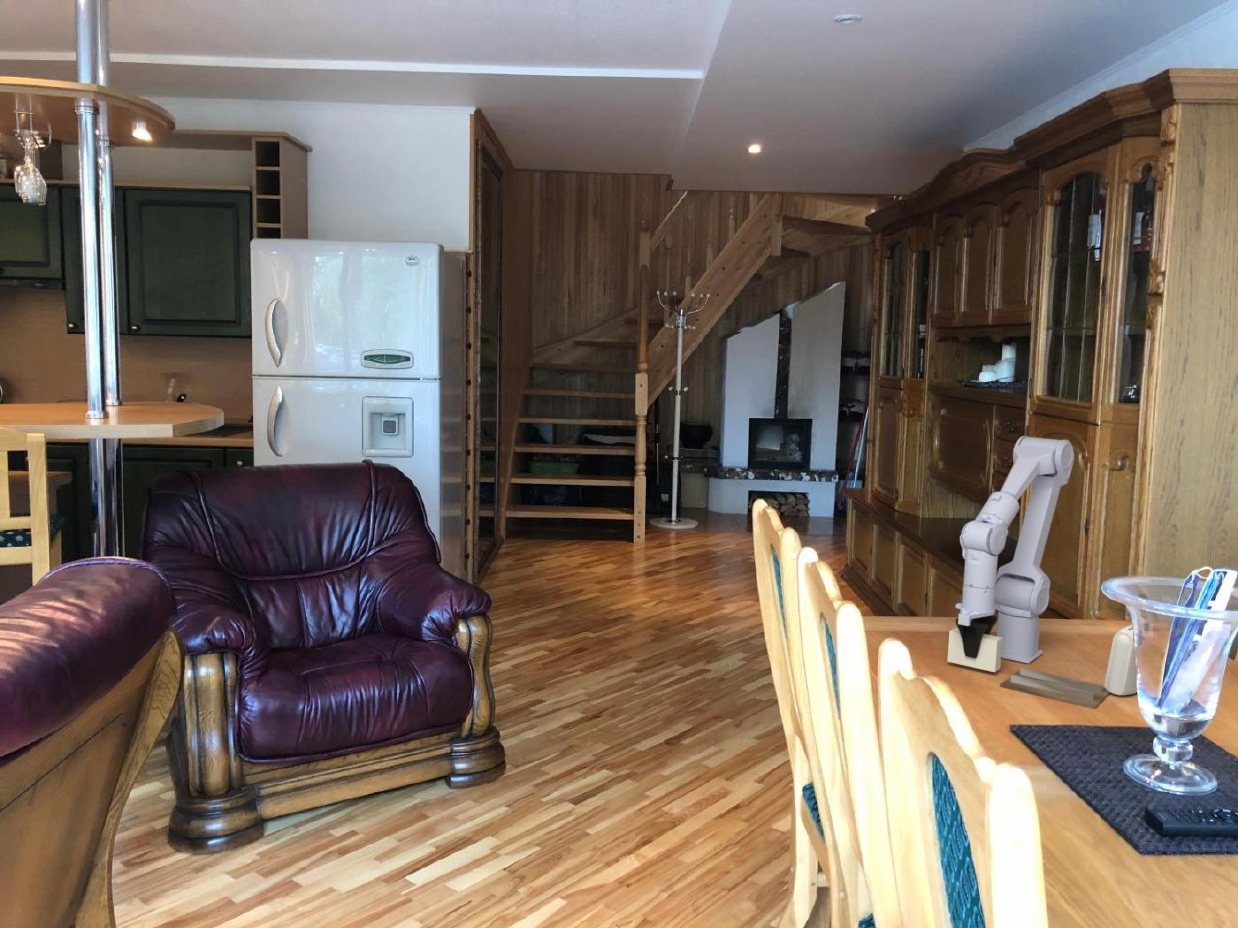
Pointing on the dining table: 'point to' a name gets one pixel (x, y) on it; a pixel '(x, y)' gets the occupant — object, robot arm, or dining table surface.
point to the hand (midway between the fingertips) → (974, 654)
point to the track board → (1057, 687)
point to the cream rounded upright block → (1121, 664)
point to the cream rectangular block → (986, 657)
